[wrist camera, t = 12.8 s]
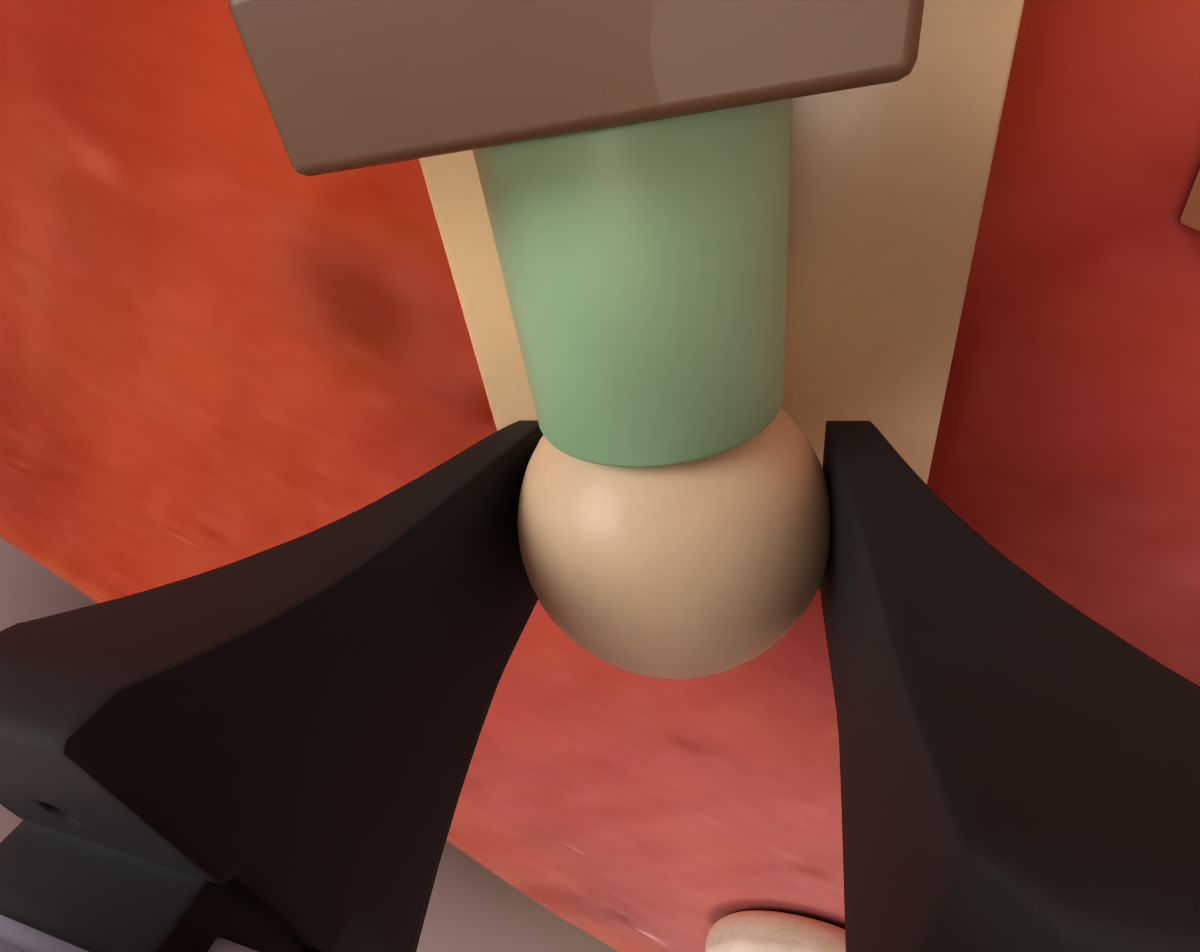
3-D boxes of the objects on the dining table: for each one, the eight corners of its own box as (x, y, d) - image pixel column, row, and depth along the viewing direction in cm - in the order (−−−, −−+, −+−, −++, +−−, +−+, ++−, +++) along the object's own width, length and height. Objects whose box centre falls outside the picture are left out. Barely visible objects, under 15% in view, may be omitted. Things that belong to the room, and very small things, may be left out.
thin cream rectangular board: (902, 548, 12) (916, 612, 10) (541, 526, 14) (515, 575, 13) (1256, -1330, 3) (1538, -2179, 2) (240, -604, 6) (78, -796, 5)
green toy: (817, 543, 11) (827, 775, 8) (592, 528, 12) (510, 719, 9) (866, -70, 6) (955, -230, 3) (487, 20, 8) (216, -8, 4)
